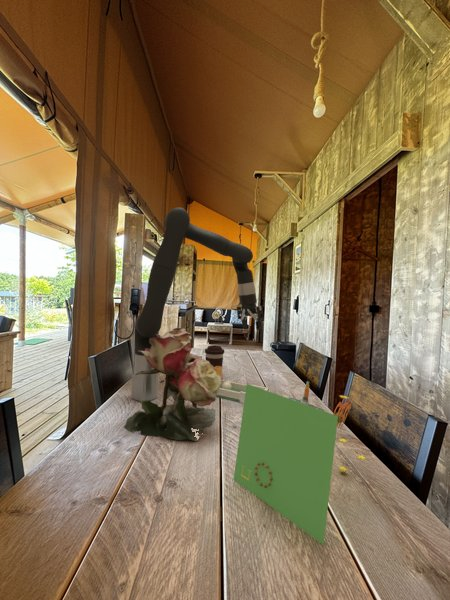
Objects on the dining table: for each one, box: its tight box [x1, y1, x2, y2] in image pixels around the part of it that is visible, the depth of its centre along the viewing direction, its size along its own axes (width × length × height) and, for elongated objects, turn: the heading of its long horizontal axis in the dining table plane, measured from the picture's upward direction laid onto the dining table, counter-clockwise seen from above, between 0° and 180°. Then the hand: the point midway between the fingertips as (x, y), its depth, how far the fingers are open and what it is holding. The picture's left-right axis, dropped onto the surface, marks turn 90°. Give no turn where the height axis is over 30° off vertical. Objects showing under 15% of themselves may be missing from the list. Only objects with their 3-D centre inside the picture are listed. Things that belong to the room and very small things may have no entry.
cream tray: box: [216, 379, 270, 404], centre depth 116 cm, size 11×24×4 cm, turn 63°
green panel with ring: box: [233, 380, 368, 546], centre depth 65 cm, size 22×25×24 cm
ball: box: [222, 382, 232, 390], centre depth 118 cm, size 4×4×4 cm
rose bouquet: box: [123, 326, 223, 442], centre depth 92 cm, size 26×29×30 cm
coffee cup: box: [204, 345, 225, 367], centre depth 143 cm, size 10×10×15 cm
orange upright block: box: [214, 365, 223, 388], centre depth 120 cm, size 6×2×9 cm, turn 153°
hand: (251, 328), depth 127 cm, fingers open, 8 cm apart
